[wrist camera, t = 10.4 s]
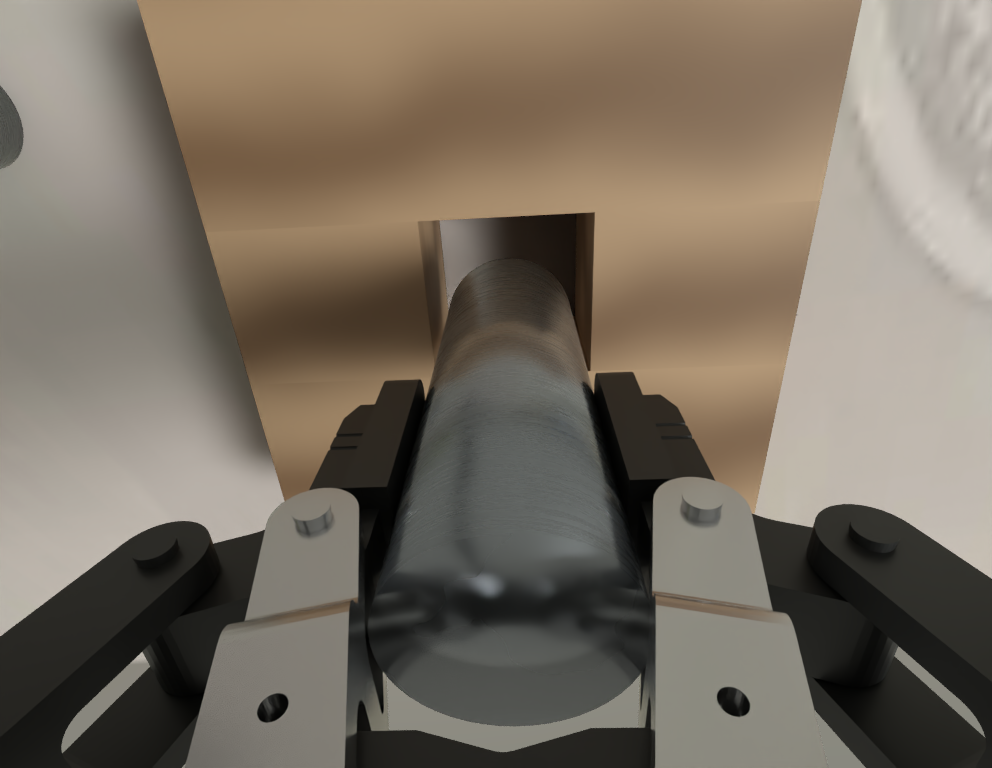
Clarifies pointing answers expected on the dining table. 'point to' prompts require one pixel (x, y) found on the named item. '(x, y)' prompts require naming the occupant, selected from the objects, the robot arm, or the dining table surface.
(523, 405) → the long pin
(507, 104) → the block
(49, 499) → the dining table surface
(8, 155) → the short pin
